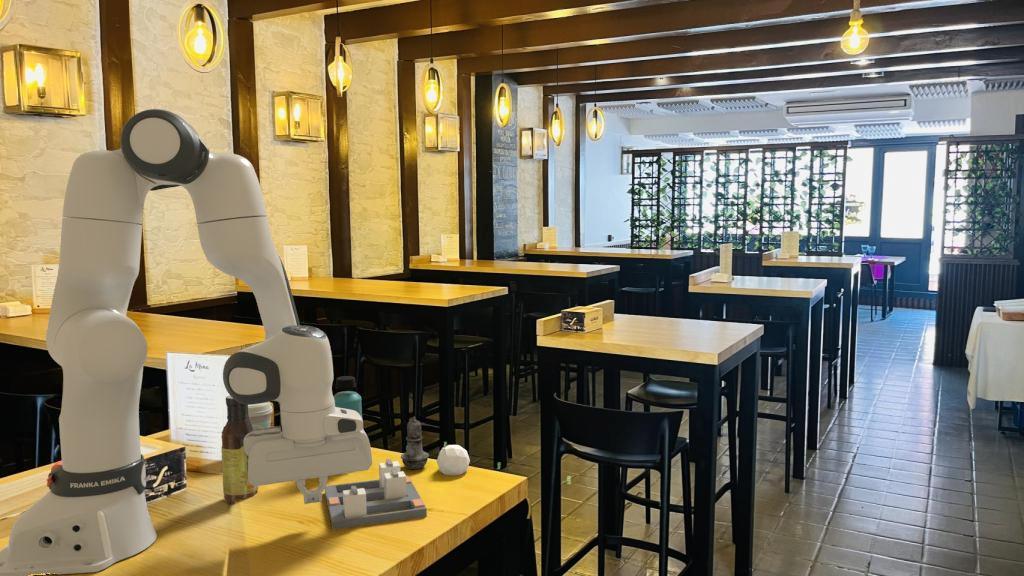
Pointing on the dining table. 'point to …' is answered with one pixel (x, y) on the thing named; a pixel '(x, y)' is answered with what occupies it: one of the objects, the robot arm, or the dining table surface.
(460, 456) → the ornament
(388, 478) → the tab
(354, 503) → the tab
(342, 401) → the beverage bottle
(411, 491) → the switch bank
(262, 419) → the coffee cup
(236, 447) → the sauce bottle
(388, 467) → the tab
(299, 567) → the dining table surface
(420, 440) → the grey tower figurine
